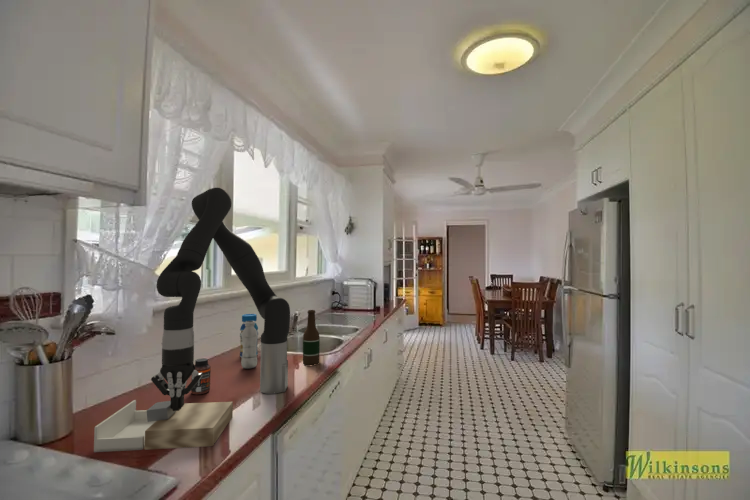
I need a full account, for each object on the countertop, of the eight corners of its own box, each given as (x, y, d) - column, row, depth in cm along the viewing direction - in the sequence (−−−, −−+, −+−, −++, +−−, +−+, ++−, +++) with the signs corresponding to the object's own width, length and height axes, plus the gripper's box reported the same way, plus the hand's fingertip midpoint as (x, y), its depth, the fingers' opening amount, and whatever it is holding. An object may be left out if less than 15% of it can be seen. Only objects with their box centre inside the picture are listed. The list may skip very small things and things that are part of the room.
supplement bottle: (202, 396, 117) (202, 362, 117) (187, 394, 118) (187, 361, 118) (213, 389, 123) (214, 357, 123) (199, 388, 124) (200, 356, 124)
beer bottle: (305, 360, 158) (306, 308, 159) (321, 361, 157) (322, 309, 158) (299, 365, 151) (300, 311, 151) (316, 366, 150) (317, 311, 150)
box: (173, 419, 99) (174, 398, 100) (142, 449, 84) (143, 424, 84) (133, 421, 98) (133, 400, 98) (93, 452, 82) (94, 426, 83)
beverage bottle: (259, 356, 164) (260, 315, 165) (241, 359, 160) (242, 316, 160) (255, 352, 171) (256, 312, 172) (237, 355, 167) (238, 314, 167)
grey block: (176, 410, 94) (175, 400, 94) (167, 419, 89) (167, 407, 90) (157, 413, 94) (156, 402, 94) (147, 422, 89) (146, 410, 89)
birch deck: (232, 416, 101) (232, 401, 101) (212, 446, 85) (213, 427, 85) (175, 419, 100) (175, 403, 100) (144, 449, 84) (145, 430, 84)
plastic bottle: (260, 367, 148) (261, 321, 149) (247, 371, 143) (248, 323, 143) (250, 364, 152) (251, 319, 152) (237, 368, 146) (238, 321, 147)
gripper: (209, 341, 97) (208, 402, 96) (159, 342, 95) (158, 405, 95) (198, 347, 90) (197, 414, 89) (144, 349, 88) (143, 417, 87)
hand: (177, 409), depth 92 cm, fingers closed
